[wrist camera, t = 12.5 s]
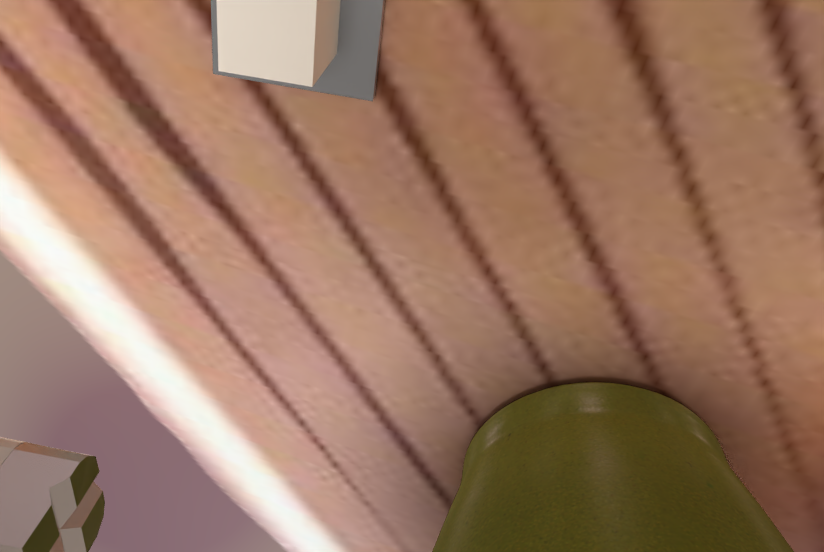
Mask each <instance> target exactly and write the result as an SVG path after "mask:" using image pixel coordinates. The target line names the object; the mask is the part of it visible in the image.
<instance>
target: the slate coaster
mask: <svg viewBox="0 0 824 552" xmlns="http://www.w3.org/2000/svg"><path fill="white" fill-rule="evenodd" d="M384 7H385V0H341V1H340V16H339V30H338V45H337V54H336V55H335V57H334V58H333V60H332V61H331V62H330V64H329V65H328V66H327V68H326V69H325V70H324V72H323V73H322V75H321V76H320V77H319V79H318V80H317V81H316V83H315V84H314V86H313V87H309V86H304V85H298V84H292V83H286V82H280V81H274V80H268V79H262V78H256V77H250V76H245V75H239V74H233V73H227V72H221V71H218V37H217V2H216V0H211V20H212V53H213V74H217V75H223V76H229V77H235V78H240V79H246V80H252V81H258V82H264V83H270V84H275V85H281V86H287V87H293V88H299V89H304V90H310V91H316V92H322V93H328V94H334V95H339V96H345V97H351V98H357V99H363V100H368V101H373V100H374V98H375V93H376V83H377V74H378V64H379V55H380V45H381V36H382V26H383V17H384Z"/></svg>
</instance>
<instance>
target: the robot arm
mask: <svg viewBox="0 0 824 552" xmlns="http://www.w3.org/2000/svg"><path fill="white" fill-rule="evenodd" d="M98 473H99V468H98V464H97V461H96V457H95V456H90V455H86V454H80V453H76V452H71V451H65V450H61V449H56V448H51V447H47V446H42V445H37V444H32V443H28V442H23V441H18V440H13V439H7V438H2V437H0V552H88V551H89V550H90V548H91V546H92V544H93V542H94V540H95V539H96V537H97V534H98V531H99V528H100V525H101V522H102V519H103V515H104V504H105V501H104V495H103V491H102V490H101V489H100V488H99V487H98V486H97V485H96V484H95V483H94V482H93V481H94V479H95V477H96V476H97V474H98Z"/></svg>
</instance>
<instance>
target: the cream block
mask: <svg viewBox="0 0 824 552" xmlns="http://www.w3.org/2000/svg"><path fill="white" fill-rule="evenodd" d="M340 1H341V0H216V2H217V37H218V71H221V72H227V73H233V74H239V75H245V76H250V77H256V78H262V79H268V80H274V81H280V82H286V83H292V84H298V85H304V86H309V87H313V86H314V84H315V83H316V81H317V80H318V79H319V77H320V76H321V75H322V73H323V72H324V70H325V69H326V68H327V66H328V65H329V64H330V62H331V61H332V60H333V58H334V57H335V55H336V54H337V45H338V30H339V16H340Z"/></svg>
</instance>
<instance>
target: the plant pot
mask: <svg viewBox="0 0 824 552" xmlns="http://www.w3.org/2000/svg"><path fill="white" fill-rule="evenodd" d="M432 552H794V551H793V550H792V548H791V547H790V546H789V544H788V543H787V542H786V540H785V539H784V537H783V536H782V535H781V533H780V532H779V531H778V529H777V528H776V526H775V525H774V524H773V522H772V521H771V520H770V518H769V517H768V515H767V514H766V513H765V511H764V510H763V509H762V507H761V506H760V505H759V503H758V502H757V501H756V500H755V498H754V497H753V496H752V494H751V493H750V492H749V491H748V489H747V488H746V487H745V486H744V484H743V483H742V482H741V481H740V479H739V478H738V477H737V476H736V474H735V473H734V472H733V471H732V469H731V468H730V466H729V464H728V462H727V460H726V457H725V455H724V453H723V450H722V448H721V445H720V443H719V442H718V440H717V438H716V437H715V435H714V433H713V432H712V431H711V429H710V428H709V427H708V426H707V425H706V424H705V423H704V422H703V421H702V420H701V419H700V418H699V417H698V416H697V415H696V414H695V413H693V412H692V411H690V410H689V409H688V408H686V407H685V406H683V405H681V404H680V403H678V402H676V401H674V400H673V399H671V398H668V397H666V396H663V395H661V394H659V393H656V392H653V391H650V390H647V389H643V388H638V387H634V386H629V385H623V384H615V383H602V382H586V383H574V384H567V385H560V386H556V387H551V388H547V389H544V390H541V391H538V392H535V393H532V394H529V395H527V396H524V397H522V398H520V399H518V400H516V401H514V402H512V403H511V404H509V405H507V406H505V407H504V408H503V409H501V410H500V411H498V412H497V413H496V414H494V415H493V416H492V417H491V418H490V419H489V420H488V421H487V422H486V423H485V424H484V425H483V426H482V427H481V428H480V429H479V430H478V432H477V433H476V435H475V436H474V438H473V439H472V441H471V443H470V445H469V447H468V450H467V452H466V455H465V459H464V465H463V473H462V480H461V485H460V487H459V489H458V492H457V494H456V496H455V498H454V501H453V503H452V505H451V508H450V510H449V512H448V515H447V517H446V519H445V522H444V524H443V527H442V529H441V531H440V534H439V536H438V539H437V541H436V544H435V546H434V549H433V551H432Z"/></svg>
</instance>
